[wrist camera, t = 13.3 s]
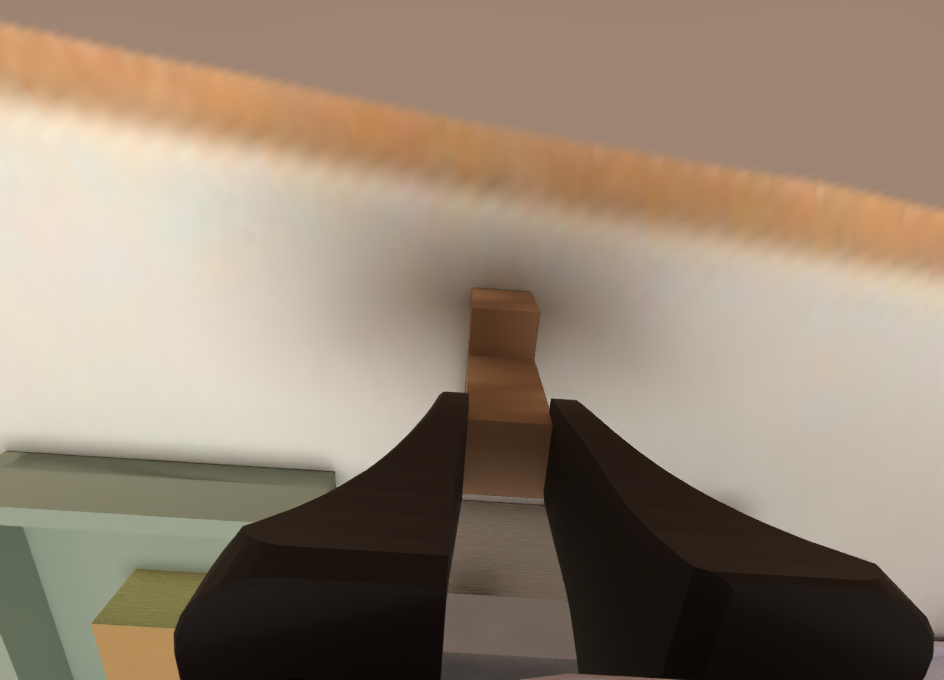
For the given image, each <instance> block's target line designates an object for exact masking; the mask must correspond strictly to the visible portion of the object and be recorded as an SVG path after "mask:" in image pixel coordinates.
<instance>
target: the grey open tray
mask: <svg viewBox="0 0 944 680" xmlns="http://www.w3.org/2000/svg"><path fill="white" fill-rule="evenodd" d="M569 673H570V674H579V673H578V665H577V657H576V650H575V643H574V636H573V629H572V622H571V615H570V609H569V604H568V599H567V594H566V589H565V585H564V581H563V577H562V573H561V569H560V565H559V561H558V557H557V554H556V550H555V546H554V542H553V538H552V534H551V529H550V525H549V521H548V517H547V513H546V509H545V506H543V505H527V504H511V503H495V502H479V501H463V500H462V503H461V509H460V516H459V522H458V528H457V534H456V540H455V547H454V553H453V559H452V565H451V571H450V577H449V584H448V592H447V601H446V614H445V628H444V643H443V658H442V673H441V680H522V679H529V678H537V677H545V676H553V675H561V674H569Z"/></svg>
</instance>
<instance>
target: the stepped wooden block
mask: <svg viewBox="0 0 944 680" xmlns="http://www.w3.org/2000/svg"><path fill="white" fill-rule="evenodd" d="M539 315H540V311H539V309H538V307H537V305H536V302H535V300H534V298H533V296H532V294H531V292H525V291H510V290H495V289H481V288H472V300H471V314H470V329H469V343H468V357H467V372H466V386H465V393H469V411H468V425H467V438H466V452H465V465H464V478H463V492H462V494H475V495H491V496H508V497H524V498H540V499H544V494H543V492H544V485H545V477H546V470H547V463H548V456H549V449H550V441H551V434H552V427H553V424H552V420H551V417H550V414H549V410H550V409H549V406H548V403H547V400H546V396H545V393H544V390H543V387H542V383H541V380H540V377H539V374H538V370H537V367H536V364H535V361H534V357H535V349H536V340H537V332H538V323H539Z"/></svg>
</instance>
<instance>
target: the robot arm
mask: <svg viewBox="0 0 944 680" xmlns="http://www.w3.org/2000/svg"><path fill="white" fill-rule="evenodd" d="M468 411H469V393H457V392H443V393H441V394H440V395H439V396H438V398H437V400H436V401H435V403H434V404H433V406H432V407H431V408H430V410H429V411H428V412H427V414H426V415H425V416H424V417H423V418H422V420H421V421H420V422H419V423H418V424H417V425H416V427H415V428H414V429H413V430H412V431H411V432H410V433H409V434H408V435H407V436H406V437H405V438H404V439H403V440H402V441H401V442H400V443H399V444H398V445H397V446H396V447H395V448H394V449H392V450H391V451H390V452H389V453H388V454H387V455H386V456H384V457H383V458H382V459H381V460H379V461H378V462H377V463H375V464H374V465H373V466H371V467H370V468H369V469H367V470H366V471H364V472H362V473H361V474H359V475H357V476H356V477H354V478H353V479H351V480H349V481H348V482H346V483H344V484H343V485H341V486H339V487H337V488H336V489H334V490H332V491H330V492H328V493H326V494H324V495H322V496H320V497H318V498H315V499H313V500H311V501H309V502H307V503H304V504H302V505H300V506H297V507H295V508H292V509H290V510H287V511H284V512H282V513H279V514H276V515H273V516H271V517H268V518H265V519H262V520H260V521H257V522H254V523H251V524H248V525H245V526H242V527H241V529H240V530H239V531H238V533H237V534H236V535H235V537H234V538H233V539H232V540H231V541H230V543H229V544H228V545H227V546H226V548H225V549H224V550H223V551H222V553H221V554H220V555H219V557H218V558H217V560H216V561H215V562H214V564H213V565H212V566H211V568H210V570H209V571H208V573H207V574H206V576H205V577H204V579H203V580H202V582H201V584H200V585H199V587H198V588H197V590H196V591H195V593H194V594H193V596H192V598H191V599H190V601H189V602H188V604H187V605H186V607H185V609H184V610H183V612H182V613H181V615H180V618H179V620H178V623H177V626H176V628H175V631H174V655H175V659H176V664H177V669H178V673H179V678H180V680H441V673H442V658H443V643H444V628H445V614H446V601H447V592H448V584H449V577H450V571H451V565H452V559H453V553H454V547H455V540H456V534H457V528H458V522H459V516H460V509H461V503H462V492H463V478H464V465H465V452H466V438H467V425H468ZM549 414H550V417H551V420H552V424H553V427H552V434H551V441H550V449H549V456H548V463H547V470H546V477H545V485H544V492H543V494H544V503H545V509H546V513H547V517H548V521H549V525H550V529H551V534H552V538H553V542H554V546H555V550H556V554H557V557H558V561H559V565H560V569H561V573H562V577H563V581H564V585H565V589H566V594H567V599H568V604H569V609H570V615H571V622H572V629H573V636H574V643H575V650H576V657H577V665H578V673H579V674H570V673H569V674H561V675H553V676H545V677H537V678H529V679H522V680H944V642H940V641H934V633H933V630H932V628H931V626H930V624H929V622H928V619H927V617H926V616H925V615H924V614H923V613H922V612H921V611H920V610H919V609H918V608H917V606H916V605H915V604H914V603H913V602H912V601H911V600H910V599H909V598H908V597H907V596H906V595H905V594H904V593H903V592H902V591H901V590H900V589H899V588H898V587H897V586H896V584H895V583H894V582H893V581H892V580H891V579H890V578H889V577H888V576H887V575H886V574H885V573H884V572H883V571H882V570H881V569H880V568H879V567H878V566H877V565H876V564H874V563H871V562H868V561H865V560H862V559H860V558H857V557H854V556H851V555H848V554H845V553H842V552H839V551H836V550H833V549H830V548H827V547H825V546H822V545H819V544H816V543H813V542H810V541H807V540H805V539H802V538H799V537H797V536H795V535H792V534H790V533H787V532H785V531H782V530H780V529H777V528H775V527H773V526H770V525H768V524H765V523H763V522H761V521H759V520H756V519H754V518H752V517H750V516H748V515H745V514H743V513H741V512H739V511H737V510H735V509H733V508H731V507H729V506H727V505H725V504H723V503H721V502H719V501H717V500H715V499H713V498H711V497H709V496H708V495H706V494H704V493H702V492H700V491H698V490H697V489H695V488H693V487H692V486H690V485H688V484H687V483H685V482H683V481H682V480H680V479H678V478H677V477H675V476H674V475H672V474H670V473H669V472H667V471H666V470H664V469H663V468H661V467H660V466H658V465H657V464H655V463H654V462H653V461H651V460H650V459H648V458H647V457H646V456H644V455H643V454H642V453H640V452H639V451H637V450H636V449H635V448H634V447H632V446H631V445H630V444H628V443H627V442H626V441H625V440H623V439H622V438H621V437H620V436H619V435H617V434H616V433H615V432H614V431H613V430H611V429H610V428H609V427H608V426H607V425H606V424H604V423H603V422H602V421H601V420H600V419H599V418H597V417H596V416H595V415H594V414H593V413H592V412H590V411H589V410H588V409H587V408H586V407H585V406H583V405H582V404H581V403H580V402H578V401H577V400H564V399H551V403H550V410H549Z"/></svg>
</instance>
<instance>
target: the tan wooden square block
mask: <svg viewBox="0 0 944 680" xmlns="http://www.w3.org/2000/svg"><path fill="white" fill-rule="evenodd" d="M206 574H207V573H195V572H178V571H162V570H145V569H135V571H134V572H133V573H132V574H131V575H130V577H129V578H128V579H127V580H126V581H125V583H124V584H123V585H122V586H121V588H120V589H119V590H118V591H117V592H116V594H115V595H114V596H113V597H112V599H111V600H110V601H109V602H108V603H107V605H106V606H105V607H104V608H103V610H102V611H101V612H100V613H99V614H98V616H97V617H96V618H95V619H94V620H93V622H92V623H91V626H92V630H93V633H94V636H95V640H96V643H97V646H98V650H99V653H100V656H101V660H102V663H103V667H104V670H105V673H106V677H107V680H180V678H179V673H178V669H177V664H176V659H175V655H174V631H175V628H176V626H177V623H178V620H179V618H180V615H181V613H182V612H183V610H184V609H185V607H186V605H187V604H188V602H189V601H190V599H191V598H192V596H193V594H194V593H195V591H196V590H197V588H198V587H199V585H200V584H201V582H202V580H203V579H204V577H205V576H206Z"/></svg>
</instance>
